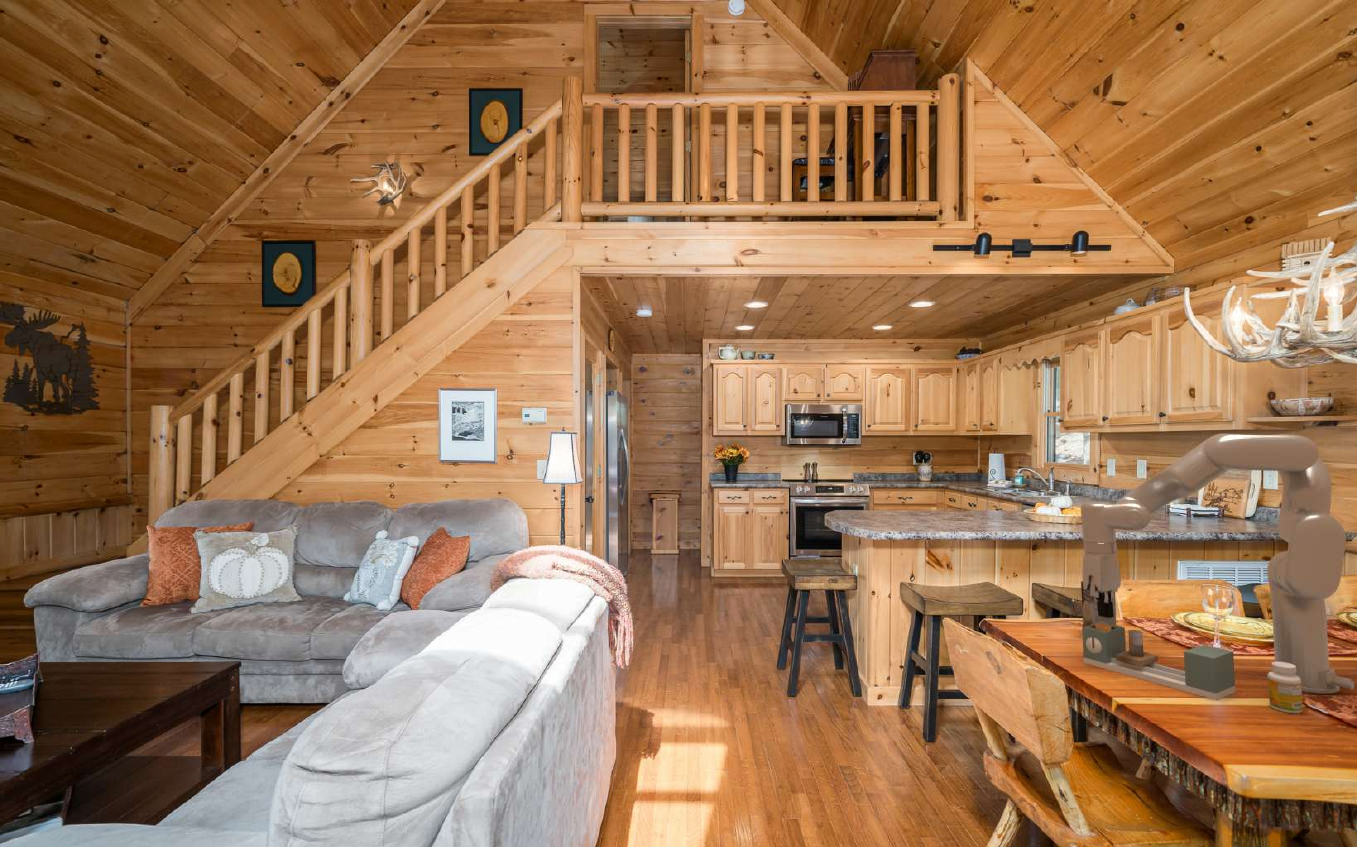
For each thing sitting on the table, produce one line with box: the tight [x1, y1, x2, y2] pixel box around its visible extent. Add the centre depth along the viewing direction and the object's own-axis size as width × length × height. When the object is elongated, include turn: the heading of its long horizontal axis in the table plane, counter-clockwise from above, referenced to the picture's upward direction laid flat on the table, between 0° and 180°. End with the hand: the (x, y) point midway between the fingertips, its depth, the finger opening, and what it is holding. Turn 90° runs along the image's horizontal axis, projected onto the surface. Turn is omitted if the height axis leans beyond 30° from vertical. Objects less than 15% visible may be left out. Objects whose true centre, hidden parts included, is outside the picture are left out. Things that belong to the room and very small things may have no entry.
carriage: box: [1115, 629, 1159, 667], centre depth 170 cm, size 6×8×8 cm
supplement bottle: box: [1267, 661, 1304, 714], centre depth 145 cm, size 5×5×10 cm
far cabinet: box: [1081, 622, 1127, 664], centre depth 176 cm, size 6×10×8 cm, turn 118°
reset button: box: [1095, 624, 1111, 631], centre depth 177 cm, size 4×4×3 cm
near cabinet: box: [1183, 644, 1236, 694], centre depth 156 cm, size 7×9×8 cm
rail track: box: [1083, 657, 1236, 701], centre depth 166 cm, size 30×9×2 cm, turn 28°
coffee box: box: [1080, 580, 1117, 627], centre depth 198 cm, size 9×6×16 cm
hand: (1106, 616), depth 176 cm, fingers closed
